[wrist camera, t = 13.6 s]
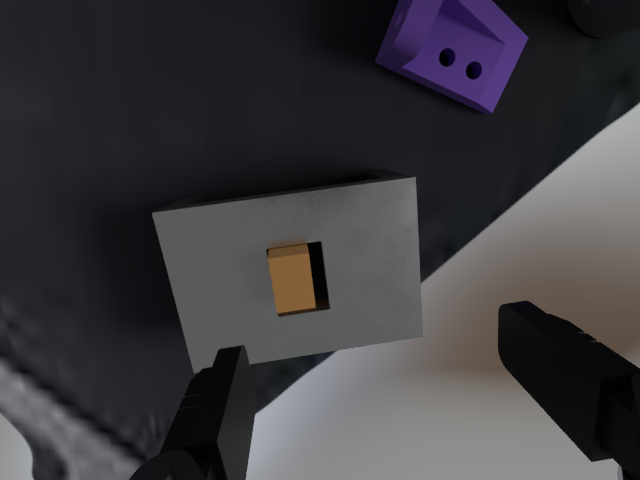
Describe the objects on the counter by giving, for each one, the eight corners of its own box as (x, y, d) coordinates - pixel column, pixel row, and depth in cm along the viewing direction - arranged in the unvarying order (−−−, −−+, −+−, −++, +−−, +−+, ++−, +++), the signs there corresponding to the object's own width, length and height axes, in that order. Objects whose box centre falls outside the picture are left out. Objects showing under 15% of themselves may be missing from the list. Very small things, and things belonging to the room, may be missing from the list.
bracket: (373, 63, 32) (395, 42, 25) (404, -17, 30) (436, -61, 24) (483, 114, 34) (530, 107, 27) (517, 42, 32) (575, 16, 26)
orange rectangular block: (301, 220, 35) (308, 253, 25) (307, 261, 36) (315, 307, 27) (272, 224, 35) (267, 258, 25) (278, 265, 36) (276, 313, 26)
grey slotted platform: (386, 169, 34) (415, 177, 27) (395, 297, 38) (422, 336, 30) (183, 196, 33) (151, 212, 26) (213, 325, 37) (194, 373, 29)
